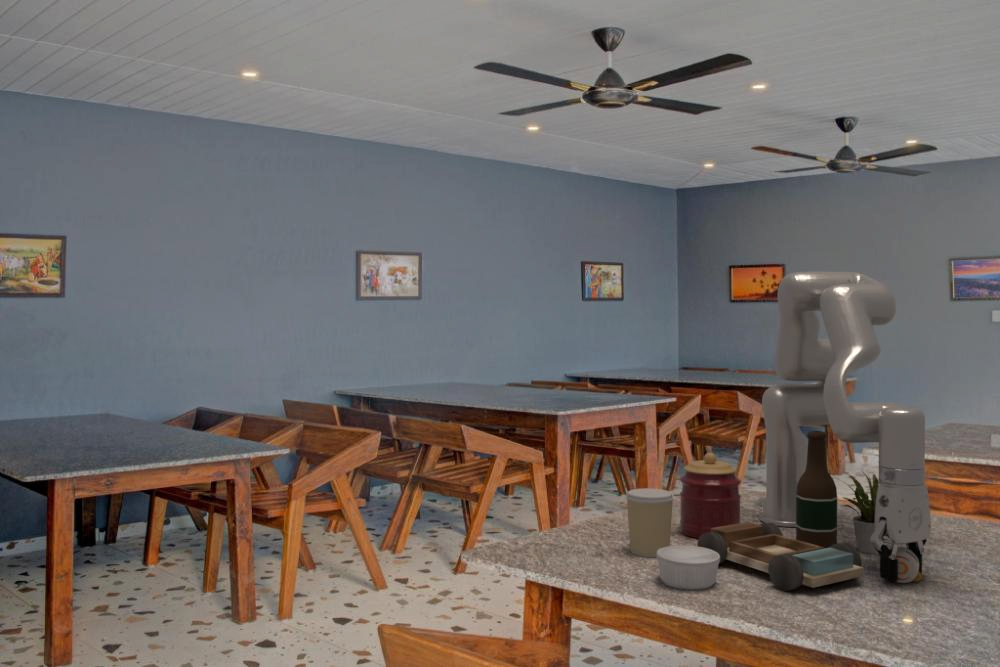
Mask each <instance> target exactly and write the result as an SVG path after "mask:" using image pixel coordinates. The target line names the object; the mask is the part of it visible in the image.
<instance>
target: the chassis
mask: <svg viewBox="0 0 1000 667" xmlns="http://www.w3.org/2000/svg"><path fill="white" fill-rule="evenodd" d="M696 546H697V547H703V548H708V549H711V550H713V551H715V552H717V553H718V554H719V555H720V562H719V564H718V565H721V564H723V563H725V561H726V560H728V561H731V562H734V563H737V564H740V565H743V566H745V567H748V568H753V569H754V570H755V569H756V570H758V571H762V572H763V573H767V574H768V575H769V578H770V581H771V583H772V584H773V585H774V587H775V588H776V589H778V590H780V591H781V592H788V591H793V590H797V589H799V588H800V587H801V586H802V585H803V586H806V587H810V588H817V587H822V586H827V585H831V584H834V583H839V582H843V581H848V580H852V579H856V578H860V577H864V576H865V573H864V572H865V571H864V569H865V568H864V567H863V566H862V557H861V555H860V551H859V550H858V548H857V547H855V546H854V545H853V544H852V543H849V542H840V543H838V542H837V544H834V545H832V546H830V548H825V547H821V546H817V545H814V544H810V543H806V542H803V541H799V540H796V539H794V538H791V537H789V536H784V535H783V533H782V531H781V529H780V526H777V525H775V524H773V523H764V522H763V523H760V524H757V523H754V522H749V521H746V522H745V521H744V522H740V523H739V524H733V525H727V526H721V527H715V528H711V533H705V534H702V535H701V536H700V537H699V538H697V545H696Z"/></svg>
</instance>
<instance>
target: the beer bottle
mask: <svg viewBox="0 0 1000 667" xmlns="http://www.w3.org/2000/svg"><path fill="white" fill-rule="evenodd" d="M806 438H807V440H808V452H807V464H806V470H805V472H804V473H803V475H802V476H801V477H800V479H799V482H798V484H797V492H796V527H795V531H796V532H795V538H796V540H799V541H803V542H806V543H810V544H814V545H817V546H821V547H825V548H830V546H832V545H834V544H838V492H837V486H836V483H835V479H833V477H832V475H831V474H830V472H829V471H828V470H829V469H828V464H827V448H826V447H827V446H826V439H827V438H828V437H827V432H825V431H823V430H810V431H807V434H806Z"/></svg>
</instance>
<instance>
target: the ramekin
mask: <svg viewBox="0 0 1000 667" xmlns="http://www.w3.org/2000/svg"><path fill="white" fill-rule="evenodd" d="M655 558H656V559H657V564H658V571H659V576H660V577H659V578H660V579H661V581H662V582H663V583H664V584H665V585H666V586H669V587H671V588H673V589H674V588H675V589H678V590H679V589H680V590H689V591H690V590H692V591H697V590H704V589H705V590H706V589H709V588H711V587H712V586H713V585H714V584H715V582H716V581H717V578H718V577H717V575H718V570H719V565H720V564H719V562H720V555H719V554H718V553H717V552H715V551H713V550H711V549H708V548H703V547H697V545H670V546H668V547H664V548H660V549H659V550H658V551H657V554H656V557H655Z"/></svg>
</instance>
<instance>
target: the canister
mask: <svg viewBox="0 0 1000 667" xmlns="http://www.w3.org/2000/svg"><path fill="white" fill-rule="evenodd" d="M683 470H684V471H685V472H684V474H683V475H681V476H680V478H679V481H680V483H681V485H682V486H681V491H680V492H679V497H680V519H679V528H680V532H681V533H682V535H684V536H686V537H689V538H694V539H699V537H700V536H701V535H702V534H705V533H711V528H715V527H721V526H727V525H733V524H739V523H741V498H742V496H741V494H740V492H739V486H740V484H741V483H742V480H741V478H739V477H738V476H736V473H737V471H738V470H737V468H736V467H734V466H733V465H731V464H730V463H729V462H726V461H722V460H721V461H720V460H717V456H716V454H715V453H713V452H707V453H706V454H704V458H703V460H701V459H700V460H694V461H691V462H689V464H687V465H685V466H684V467H683Z"/></svg>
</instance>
